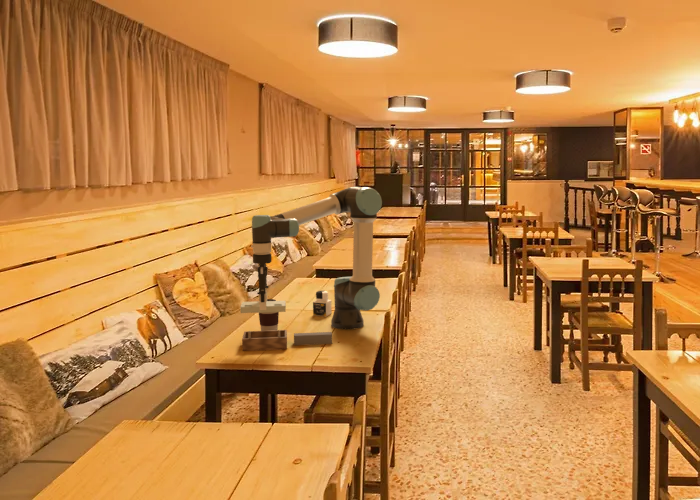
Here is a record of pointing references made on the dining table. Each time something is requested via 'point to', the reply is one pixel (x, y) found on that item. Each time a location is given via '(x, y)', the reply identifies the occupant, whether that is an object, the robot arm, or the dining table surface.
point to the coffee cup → (269, 320)
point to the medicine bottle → (322, 304)
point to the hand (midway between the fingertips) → (263, 306)
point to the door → (270, 307)
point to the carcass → (264, 340)
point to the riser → (312, 338)
